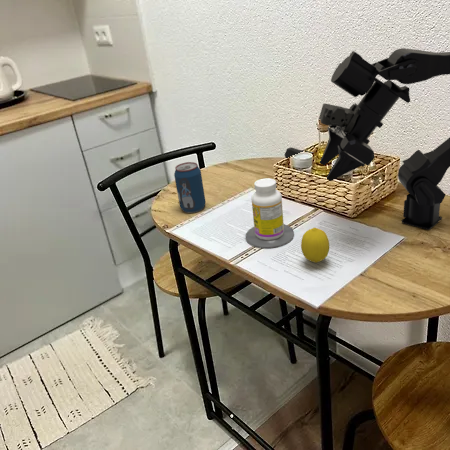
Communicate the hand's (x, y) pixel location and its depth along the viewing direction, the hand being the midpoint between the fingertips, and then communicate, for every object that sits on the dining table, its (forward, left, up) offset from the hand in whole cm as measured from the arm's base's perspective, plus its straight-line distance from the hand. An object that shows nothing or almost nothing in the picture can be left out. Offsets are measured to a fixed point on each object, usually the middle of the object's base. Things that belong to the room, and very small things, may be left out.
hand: (325, 171), depth 100 cm
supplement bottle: (+9, +9, -14) cm, 19 cm away
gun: (+21, -23, -15) cm, 34 cm away
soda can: (+36, +9, -14) cm, 40 cm away
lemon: (-6, +12, -14) cm, 20 cm away
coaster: (+9, +9, -14) cm, 19 cm away
